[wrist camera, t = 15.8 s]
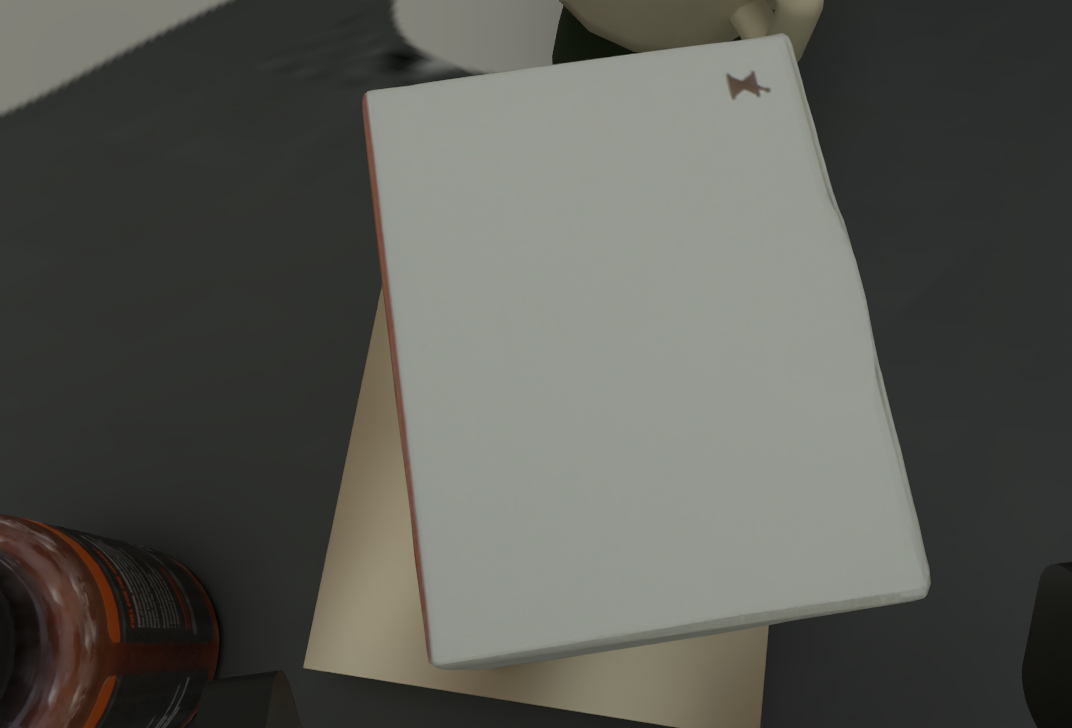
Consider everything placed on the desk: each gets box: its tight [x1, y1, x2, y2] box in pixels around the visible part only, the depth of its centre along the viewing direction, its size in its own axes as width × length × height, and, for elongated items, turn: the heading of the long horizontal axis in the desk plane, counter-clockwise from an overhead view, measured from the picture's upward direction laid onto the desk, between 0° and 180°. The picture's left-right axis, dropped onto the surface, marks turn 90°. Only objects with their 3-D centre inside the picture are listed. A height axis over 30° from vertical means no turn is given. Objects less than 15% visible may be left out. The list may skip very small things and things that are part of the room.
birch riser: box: [303, 288, 769, 728], centre depth 28 cm, size 11×11×5 cm
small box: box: [362, 33, 931, 670], centre depth 19 cm, size 8×6×13 cm
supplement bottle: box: [0, 514, 219, 728], centre depth 23 cm, size 6×6×11 cm
